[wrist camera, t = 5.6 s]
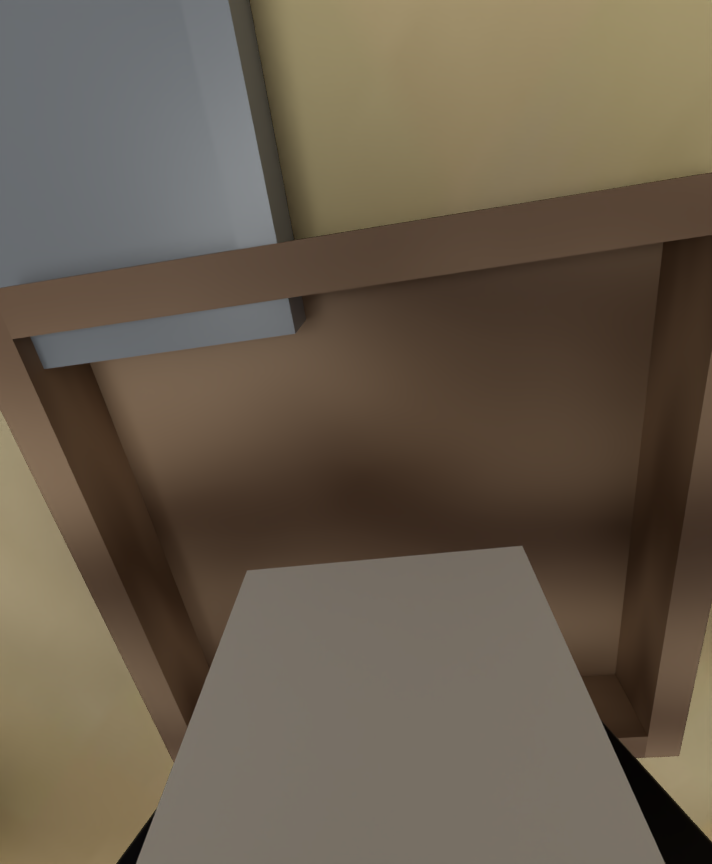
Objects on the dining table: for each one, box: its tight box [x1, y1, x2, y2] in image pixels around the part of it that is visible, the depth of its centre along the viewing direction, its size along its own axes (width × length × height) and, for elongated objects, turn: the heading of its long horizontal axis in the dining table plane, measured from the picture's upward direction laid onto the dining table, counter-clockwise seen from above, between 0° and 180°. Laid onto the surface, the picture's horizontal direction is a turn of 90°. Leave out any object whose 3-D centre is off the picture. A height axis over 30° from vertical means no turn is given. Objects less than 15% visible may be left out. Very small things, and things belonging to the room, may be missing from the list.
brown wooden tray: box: [0, 173, 712, 762], centre depth 13 cm, size 16×16×2 cm
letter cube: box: [136, 546, 665, 864], centre depth 7 cm, size 5×5×5 cm
